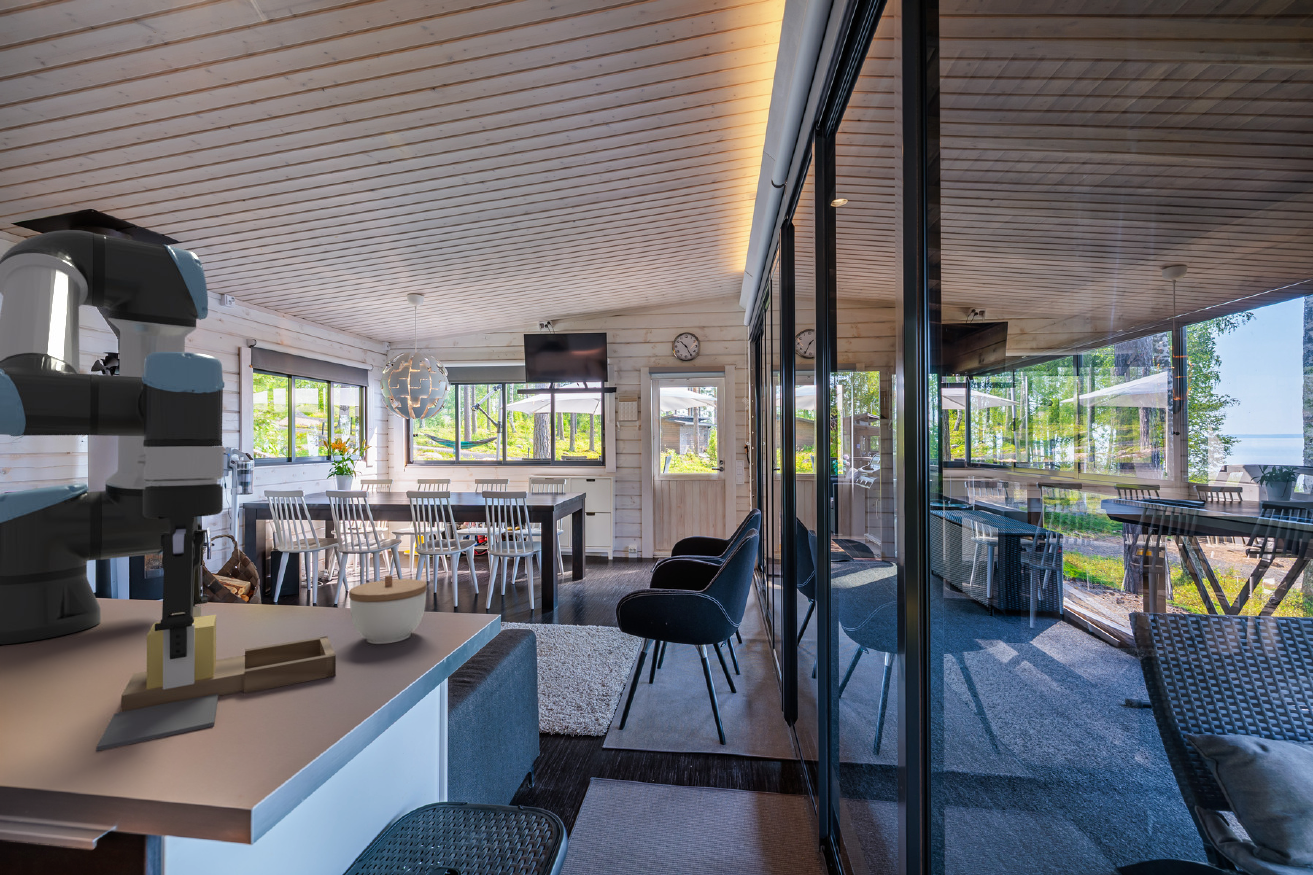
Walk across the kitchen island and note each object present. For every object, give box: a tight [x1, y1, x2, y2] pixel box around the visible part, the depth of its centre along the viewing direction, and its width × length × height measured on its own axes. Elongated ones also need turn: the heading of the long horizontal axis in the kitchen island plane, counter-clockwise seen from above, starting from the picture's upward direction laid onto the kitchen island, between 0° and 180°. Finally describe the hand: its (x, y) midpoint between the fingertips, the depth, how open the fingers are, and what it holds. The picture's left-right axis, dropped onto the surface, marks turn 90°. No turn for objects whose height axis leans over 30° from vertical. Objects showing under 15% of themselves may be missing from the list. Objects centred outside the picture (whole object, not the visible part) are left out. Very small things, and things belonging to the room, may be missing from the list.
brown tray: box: [120, 635, 337, 712], centre depth 74 cm, size 10×20×2 cm, turn 124°
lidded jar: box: [348, 574, 427, 645], centre depth 91 cm, size 11×11×9 cm
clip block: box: [146, 614, 217, 689], centre depth 71 cm, size 6×6×6 cm
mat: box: [95, 694, 219, 752], centre depth 63 cm, size 9×9×1 cm
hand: (183, 671), depth 71 cm, fingers open, 10 cm apart
